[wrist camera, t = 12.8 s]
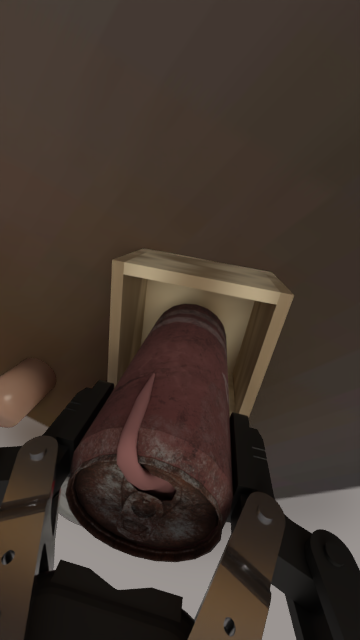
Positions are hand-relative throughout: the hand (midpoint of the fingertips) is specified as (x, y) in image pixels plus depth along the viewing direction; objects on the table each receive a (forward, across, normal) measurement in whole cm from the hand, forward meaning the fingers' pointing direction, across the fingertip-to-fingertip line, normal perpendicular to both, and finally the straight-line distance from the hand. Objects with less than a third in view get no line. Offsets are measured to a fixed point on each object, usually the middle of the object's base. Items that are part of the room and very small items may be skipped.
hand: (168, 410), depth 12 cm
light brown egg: (+13, +18, +12) cm, 25 cm away
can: (+9, 0, 0) cm, 9 cm away
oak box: (+13, 0, 0) cm, 13 cm away
